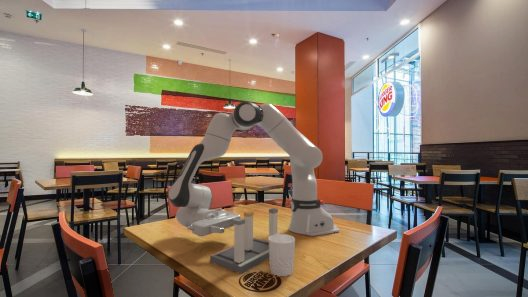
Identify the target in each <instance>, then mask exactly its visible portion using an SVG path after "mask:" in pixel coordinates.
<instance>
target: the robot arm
mask: <svg viewBox="0 0 528 297" xmlns="http://www.w3.org/2000/svg"><path fill="white" fill-rule="evenodd" d="M254 126H259V127H260V128H262V129H263V130H264V132H265V133H266V134H267V135H268V136H269V137H270V138H271V139H272V140H273V141H274V143H276V145H277V146H278V147H279V148H281V149H282V150H283V151H284V152H285V153H286V154H288V156H289V161H290V169H291V170H290V172H291V179H292V181H291V182H292V198H291V203H290V206H291V207H290V208H291V216H290V223H289V226H288V230H289V231H290V232H292V233H295V234H300V235H306V236H309V237H315V236H321V235H328V234H334V232H335V233H339V232H340V228H339V227H338V226H337V225H336V224H335V222H334V218H333V217H332V215H331V214H330V213H329V212H327V210H325V209H324V208H323V207H321V206H324V205H325V201H324V200H323V199H318V180H317V178H316V175H315V174H316V173H315V170H314V169H315V168H318V167H319V166H320V165H321V163H322V162H323V159H324V157H323V152H322V150H321V149H320V148H319V147H318V146H316V145H315V144H314V143H313V142H312V141H311V140H310V139H308V138H307V137H306V136H305V135H304V134H303V133H301V132H300V131H299V130H298V129H297V128H296V127H295V126H294V124H292V123H291V122H290V120H289V119H288V118H287V117H286V116H285V115H284V114H283V113H282V112H281V111H280V110H279V109H278V108H277V107H276V106H274V105H273V104H271V103H264V104H262V105H259V104H256V103H253V102H250V101H248V100H247V101H242V102H239V103H238V104H236V106H235V108H234V109H233V111H232V112H231V113H225V112H218V113H216V114H214V115H213V116H212V119H211V120H210V122H209V124H208V127H207V129H206V132H205V134H204V136H203V138H202V140H201V141H200V142H199V143H198V144H196V145H194V146H193V148H192V149H191V151H190V153H189V154H188V156H187V158H186V160H185V162H184V164H183V165H182V168H181V170H180V171H179V174H178V176H177V177H176V179H175V181H173V183H172V184H171V186H170V188H169V189H168V191H167V192H168V194H167V195H168V200H169V201H170V204H172V206H173V207H174V208H178V209H177V211H176V216H175V217H176V220H177V222H178V223H179V225H180V226H182V227H185V228H187V230H189V231H191V232H192V234H194V235H196V236H198V237H205V236H208V235H212V234H219V235H220V234H223V233H225V230H227V229H229V228H232V227H234V220H236V219H239V218H241V215H240V214H239V213H235V212H231V211H226V210H225V209H223V208H222V209H211V206H212V203H213V192H212V189H211V188H210V187H209V186H206V185H202V184H196V183H193V182H192V181H193V179H194V176H195V175H196V172H197V171H198V168H199V166H200V165H201V164H202V163H204V162H205V161H208V160H213V159H219V158H221V157H222V156H224V155H225V154H226V153H227V151H228V149H229V147H230V143H231V140H232V137H233V134H234V133H235V132H247V131H249V130H250V129H252V128H254Z"/></svg>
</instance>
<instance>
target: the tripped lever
mask: <svg viewBox="0 0 528 297" xmlns="http://www.w3.org/2000/svg"><path fill="white" fill-rule="evenodd" d="M254 215H255V214H254V211H252V210H251V211H250V210H247V211H244V212H243V219H245V238H244V250H247V251H249V250H251V249H253V237H254Z"/></svg>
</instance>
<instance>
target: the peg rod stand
mask: <svg viewBox="0 0 528 297" xmlns="http://www.w3.org/2000/svg"><path fill="white" fill-rule="evenodd" d="M278 212H279V209H278V208H275V207H272V208H269V209H268V238H269V237H270V236H272V235H276V234H278ZM233 227H234V228H233V229H234V231H233V232H234V233H233V235H234V236H233V239H234V240H233V242H234V243H233V245H232V246H229V247H226V248H224V249H221V250H219V251H217V252H215V253H212V254H211V255H209V262H210V263H211V264H214V265H217V266H219V267H222V268H224V269H227V270H229V271H233V272H235V273H237V274H240V275H242V274H244V273H245V272H248V271H249V270H251V269H253V268H254V267H257V266H258V265H259V264H261V263H264V262H265V261H267V260H270V259H269V241H266V240H264V239H260V238H256V237H255V236H253V249H251V250H249V251H247V250H244V238H245V219H244V218H241V217H240V218H239V219H236V220H234V226H233Z"/></svg>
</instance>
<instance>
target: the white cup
mask: <svg viewBox="0 0 528 297" xmlns="http://www.w3.org/2000/svg"><path fill="white" fill-rule="evenodd" d="M268 242H269V259H268V260H269V264H270V265H269V267H270V268H269V269H270V270H269V272H270V273H271V275H273V274H274V275H273V276H275V275H277V276H276V277H280V276H285V277H288V276H287V275H289V276H291V275H292V274H293V273H294V270H293V269H294V262H295V261H294V260H295V244H296V243H295V242H296V239H295V237H294V236H293V235H291V234H286V233H277V234H276V235H272V236H270V237H269V236H268Z"/></svg>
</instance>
